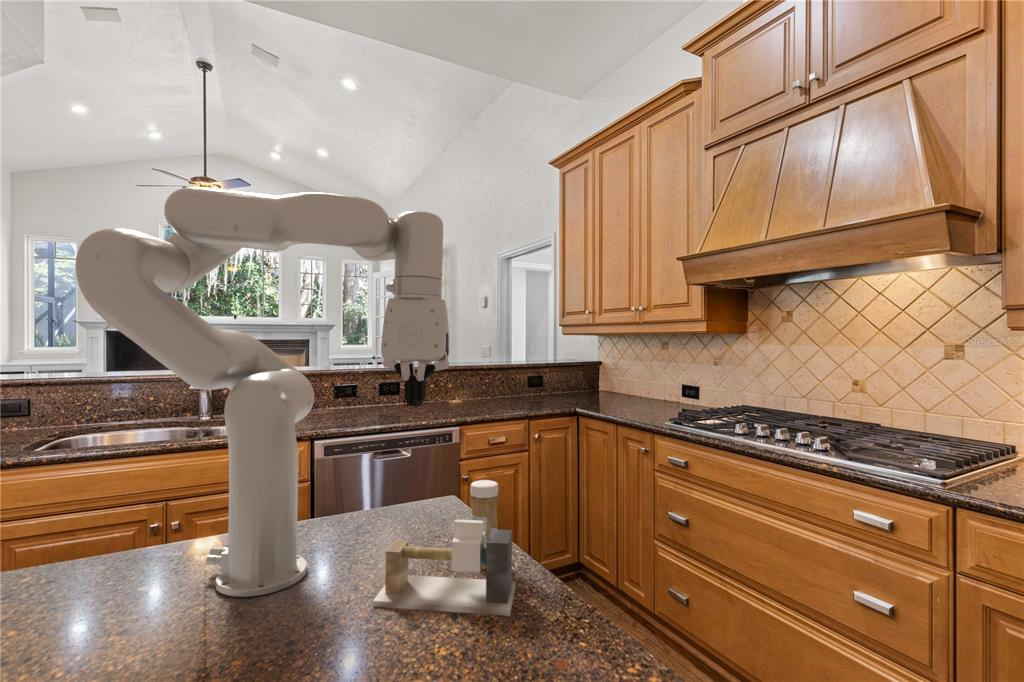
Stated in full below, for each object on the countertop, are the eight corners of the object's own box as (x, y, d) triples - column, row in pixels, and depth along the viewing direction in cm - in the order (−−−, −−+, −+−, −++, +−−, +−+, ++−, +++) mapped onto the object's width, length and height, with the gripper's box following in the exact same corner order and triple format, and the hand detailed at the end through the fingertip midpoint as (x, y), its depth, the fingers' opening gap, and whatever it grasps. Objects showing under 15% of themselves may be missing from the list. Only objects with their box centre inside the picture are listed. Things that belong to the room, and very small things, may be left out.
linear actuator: (372, 606, 68) (373, 541, 68) (393, 579, 76) (393, 520, 76) (509, 615, 66) (510, 548, 66) (515, 586, 74) (516, 526, 74)
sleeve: (451, 570, 68) (452, 525, 69) (457, 557, 73) (458, 515, 73) (479, 572, 68) (480, 527, 68) (484, 559, 72) (485, 516, 72)
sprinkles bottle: (502, 566, 81) (503, 484, 81) (478, 573, 78) (479, 488, 78) (488, 556, 84) (489, 477, 85) (465, 562, 82) (465, 481, 82)
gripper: (363, 287, 76) (360, 406, 76) (457, 288, 74) (454, 410, 74) (383, 293, 84) (380, 401, 83) (468, 294, 82) (465, 404, 81)
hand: (414, 405), depth 79 cm, fingers closed
